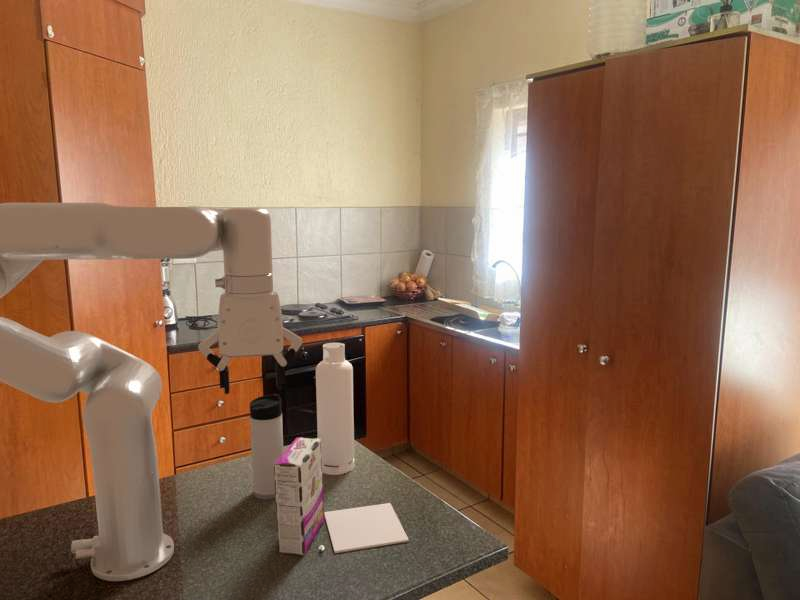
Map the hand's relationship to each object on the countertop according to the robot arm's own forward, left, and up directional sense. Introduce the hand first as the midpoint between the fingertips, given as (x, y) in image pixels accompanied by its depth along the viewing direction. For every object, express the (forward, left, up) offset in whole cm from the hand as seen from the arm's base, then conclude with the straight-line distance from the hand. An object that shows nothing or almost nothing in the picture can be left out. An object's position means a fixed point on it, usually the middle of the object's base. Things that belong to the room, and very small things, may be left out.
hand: (253, 389), depth 97 cm
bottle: (+17, +26, -28) cm, 42 cm away
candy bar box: (+7, 0, -28) cm, 29 cm away
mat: (+19, 0, -28) cm, 33 cm away
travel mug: (+2, +18, -28) cm, 33 cm away
